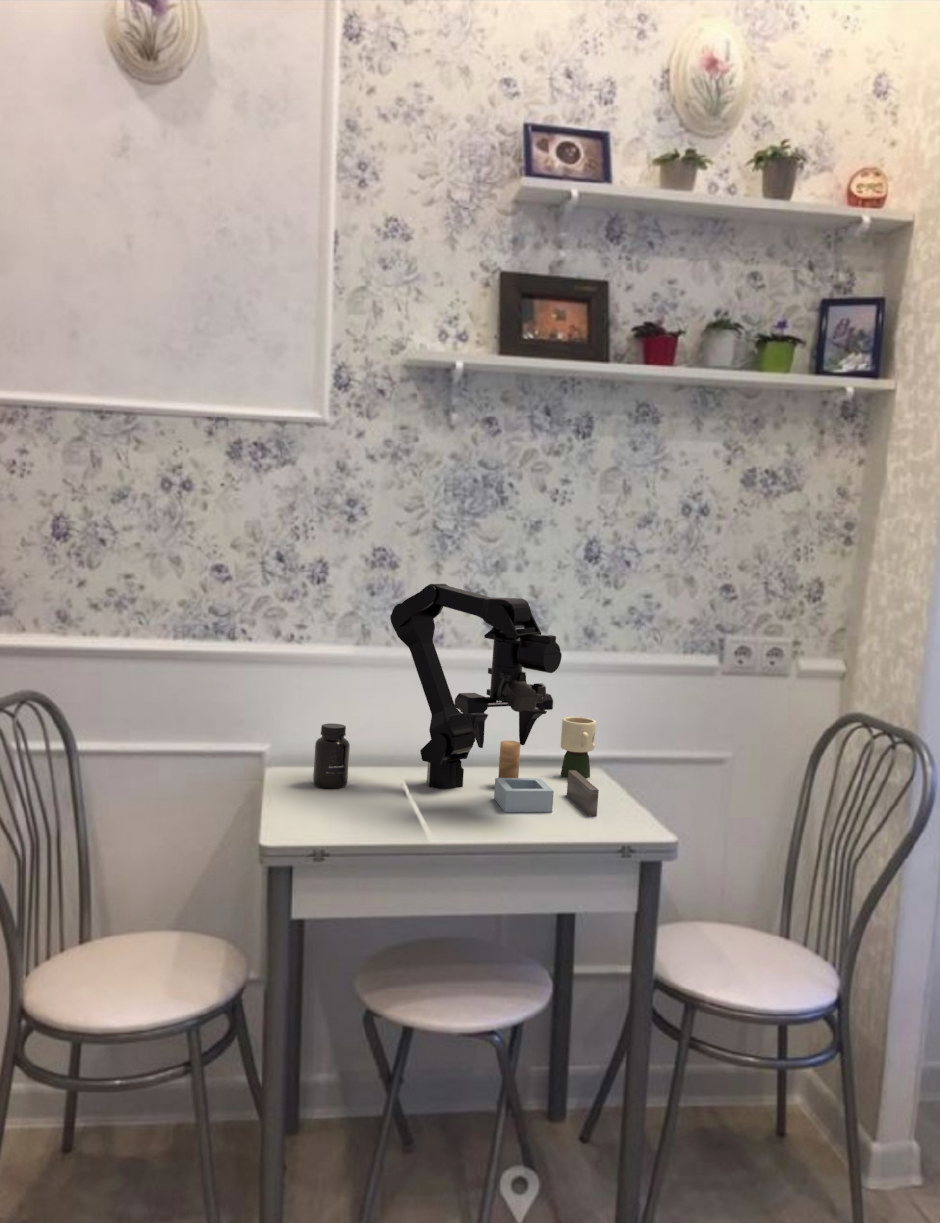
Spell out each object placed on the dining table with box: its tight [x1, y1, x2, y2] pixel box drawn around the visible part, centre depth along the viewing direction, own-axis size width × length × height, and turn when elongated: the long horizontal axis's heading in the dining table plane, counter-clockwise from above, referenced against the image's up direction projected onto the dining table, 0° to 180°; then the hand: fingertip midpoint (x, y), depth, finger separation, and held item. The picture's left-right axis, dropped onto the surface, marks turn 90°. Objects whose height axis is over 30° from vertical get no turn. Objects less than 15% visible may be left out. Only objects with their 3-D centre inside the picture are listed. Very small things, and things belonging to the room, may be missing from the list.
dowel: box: [497, 740, 521, 778], centre depth 206 cm, size 4×4×10 cm
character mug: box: [560, 716, 597, 780], centre depth 218 cm, size 11×7×13 cm, turn 13°
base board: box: [566, 770, 599, 817], centre depth 194 cm, size 18×14×6 cm
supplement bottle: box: [312, 722, 351, 790], centre depth 204 cm, size 7×7×12 cm
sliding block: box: [493, 777, 555, 813], centre depth 193 cm, size 9×9×4 cm
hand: (501, 746), depth 195 cm, fingers open, 9 cm apart
